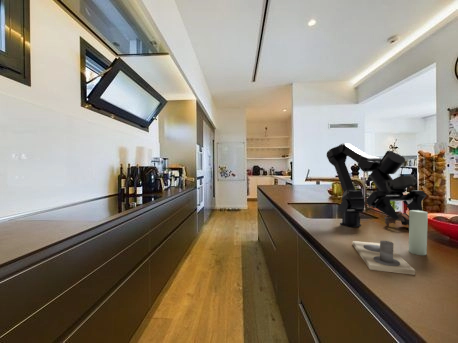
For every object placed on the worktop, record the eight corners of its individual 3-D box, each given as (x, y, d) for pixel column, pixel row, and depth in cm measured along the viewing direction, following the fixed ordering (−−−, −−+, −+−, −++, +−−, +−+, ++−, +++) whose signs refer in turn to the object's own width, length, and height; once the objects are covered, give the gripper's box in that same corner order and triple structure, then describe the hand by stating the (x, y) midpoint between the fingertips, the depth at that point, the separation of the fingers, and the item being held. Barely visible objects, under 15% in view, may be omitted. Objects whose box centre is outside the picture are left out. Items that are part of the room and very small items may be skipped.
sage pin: (405, 251, 73) (406, 211, 73) (412, 249, 75) (413, 209, 75) (422, 256, 69) (423, 213, 69) (429, 253, 71) (430, 212, 71)
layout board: (352, 244, 80) (352, 226, 79) (385, 247, 77) (386, 228, 76) (369, 269, 60) (370, 245, 60) (415, 274, 58) (415, 249, 57)
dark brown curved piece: (411, 234, 94) (399, 215, 95) (389, 238, 101) (378, 221, 103) (421, 222, 100) (409, 205, 102) (399, 227, 108) (388, 211, 110)
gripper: (372, 167, 78) (399, 205, 68) (421, 167, 80) (455, 204, 70) (357, 188, 86) (379, 224, 76) (402, 187, 88) (429, 223, 78)
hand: (410, 219), depth 74 cm, fingers open, 9 cm apart
